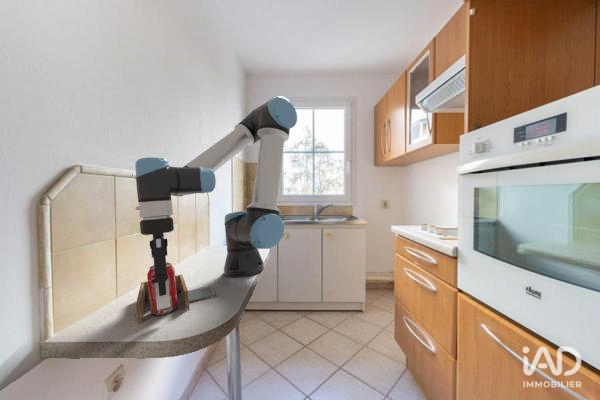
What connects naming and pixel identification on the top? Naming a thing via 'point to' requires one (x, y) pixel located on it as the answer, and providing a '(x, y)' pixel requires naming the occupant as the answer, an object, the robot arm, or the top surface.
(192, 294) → the mat
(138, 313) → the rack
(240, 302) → the top surface
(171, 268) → the beverage can
